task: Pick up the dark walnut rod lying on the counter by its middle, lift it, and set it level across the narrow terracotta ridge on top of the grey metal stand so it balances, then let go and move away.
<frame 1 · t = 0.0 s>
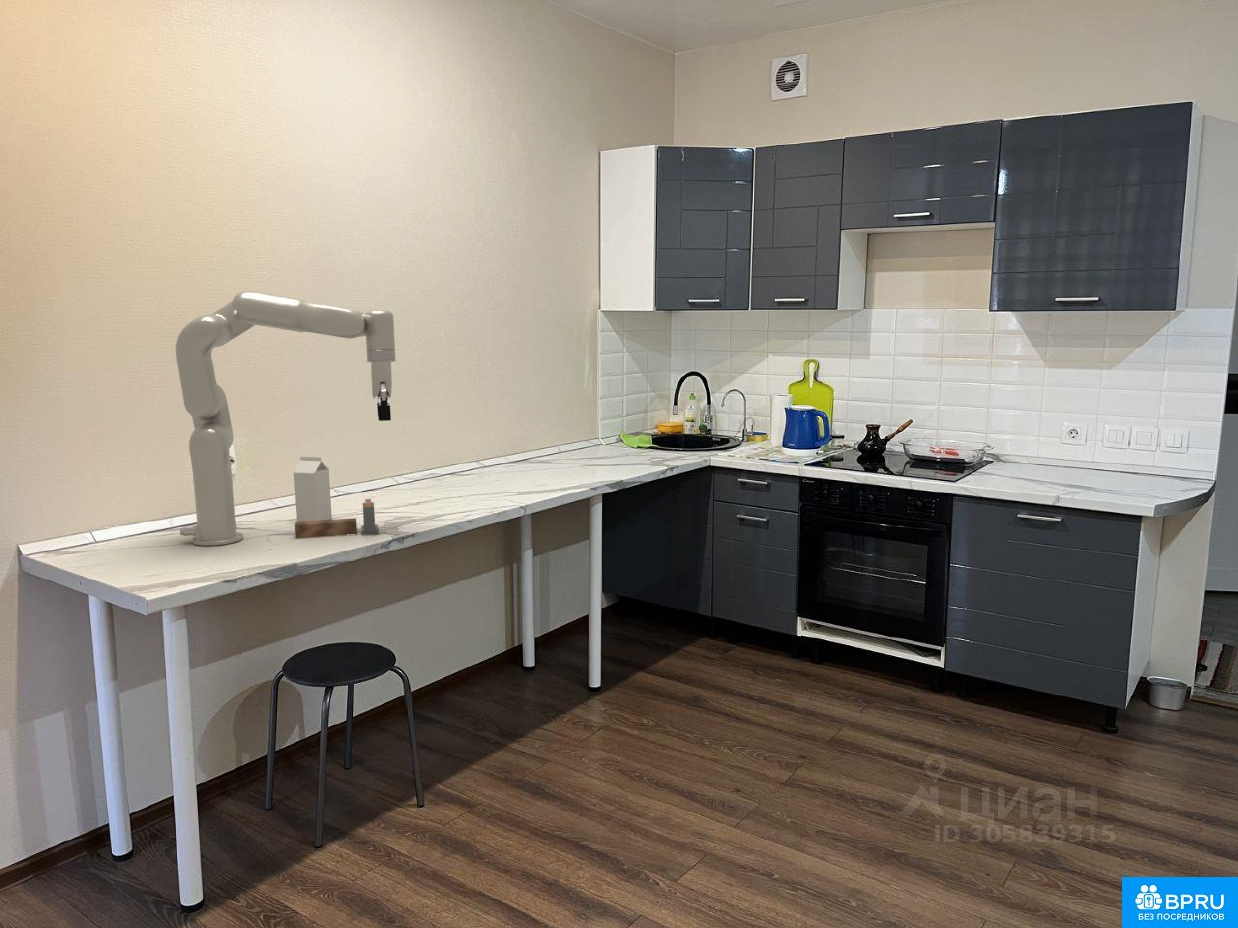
hand: (384, 418, 261), 31 cm above the table, tool pointing down, fingers open, 9 cm apart
ridge stand: (369, 531, 263), on the table
walnut rod: (326, 535, 260), on the table
milk carton: (314, 521, 278), on the table
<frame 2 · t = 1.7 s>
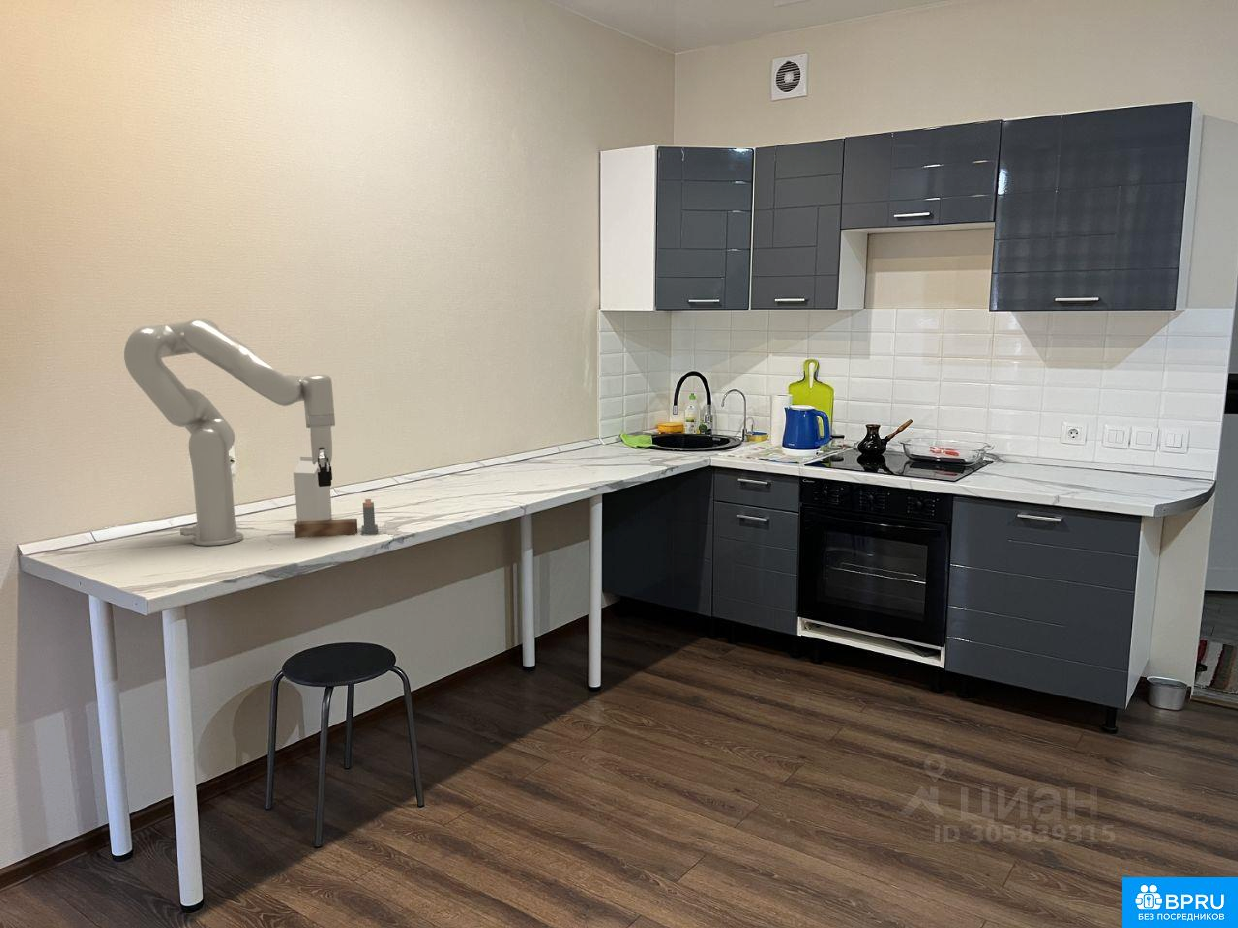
hand: (325, 483, 258), 14 cm above the table, tool pointing down, fingers open, 9 cm apart
nothing on the table moved.
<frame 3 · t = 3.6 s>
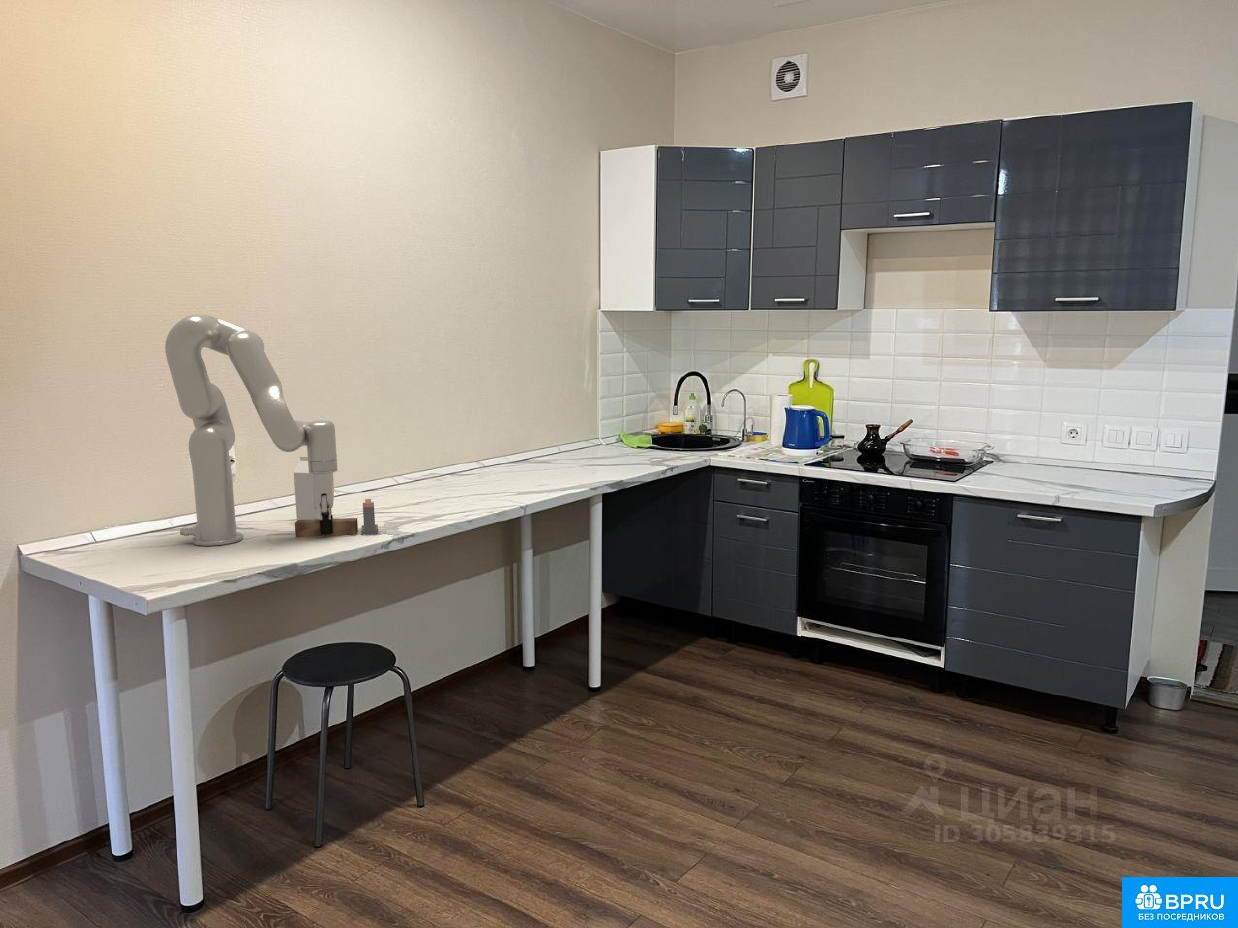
hand: (327, 531, 260), 1 cm above the table, tool pointing down, fingers closed on walnut rod, 4 cm apart
walnut rod: (327, 534, 260), on the table, touching gripper
everything else where it was.
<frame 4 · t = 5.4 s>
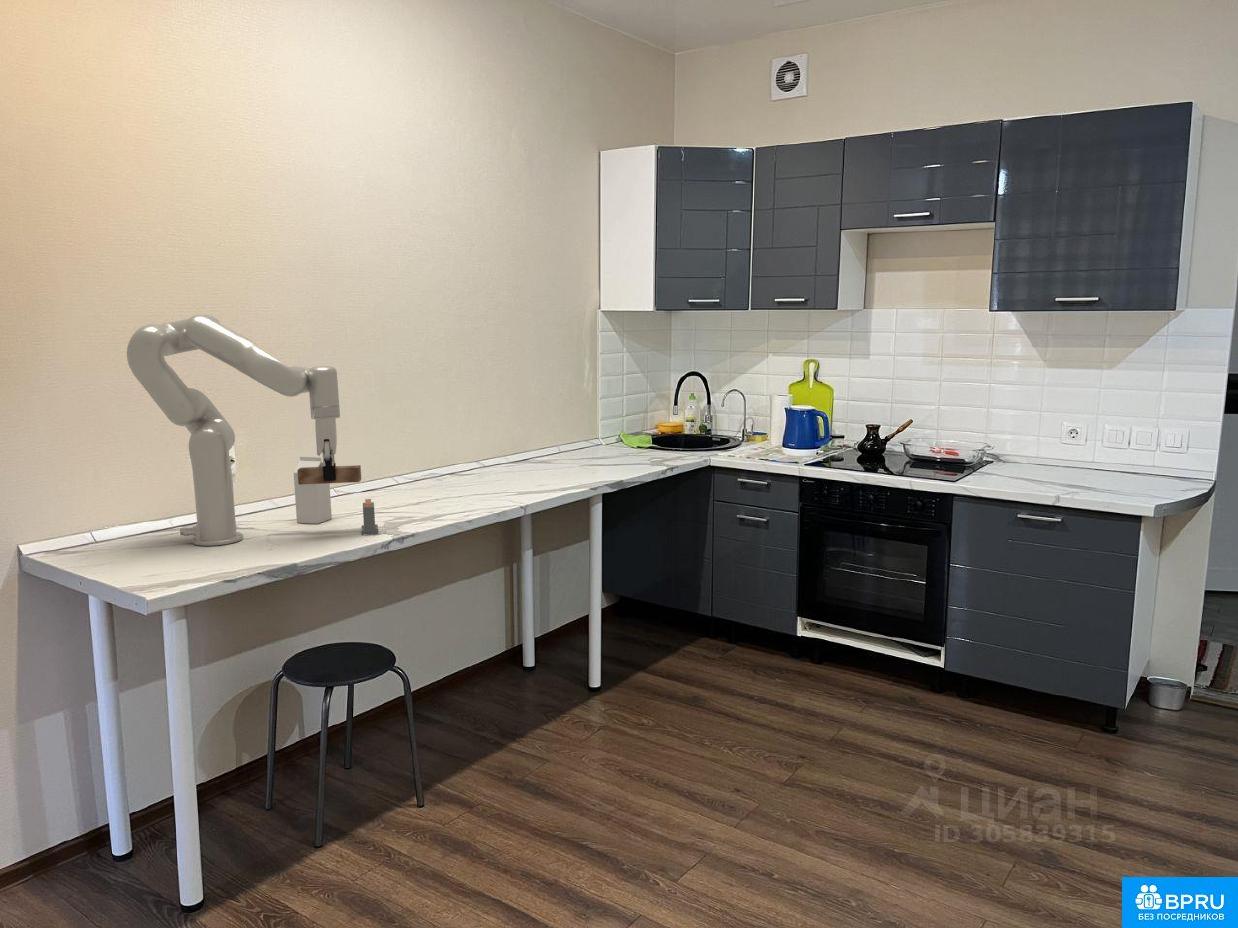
hand: (330, 478, 258), 16 cm above the table, tool pointing down, fingers closed on walnut rod, 4 cm apart
walnut rod: (330, 482, 258), point 15 cm above the table, touching gripper
everything else where it was.
when the fingers open (10 cm above the table, at t = 7.4 s): walnut rod stays where it is, resting on ridge stand.
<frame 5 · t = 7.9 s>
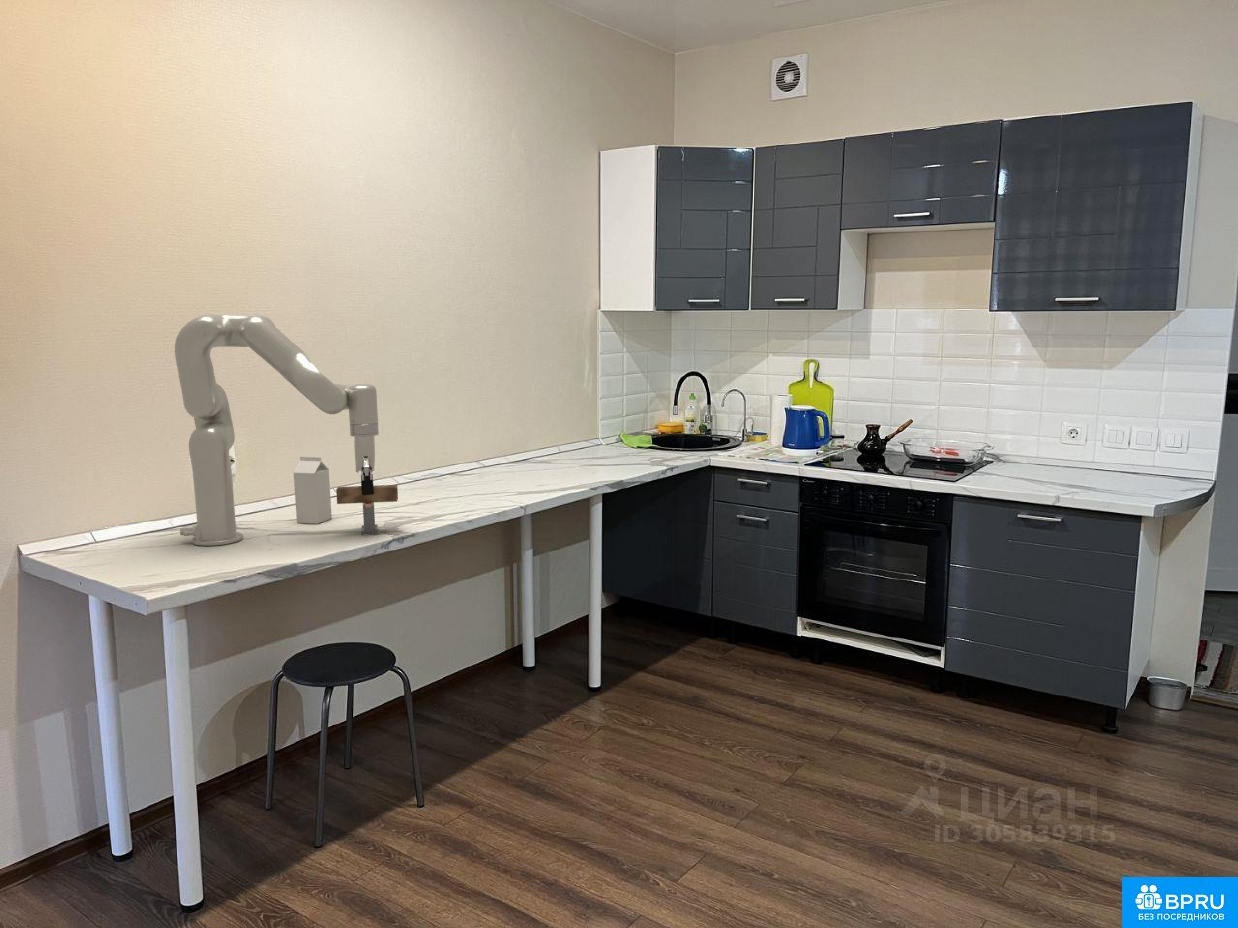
hand: (367, 491, 261), 11 cm above the table, tool pointing down, fingers open, 9 cm apart
walnut rod: (367, 501, 262), point 9 cm above the table, touching ridge stand
everything else where it was.
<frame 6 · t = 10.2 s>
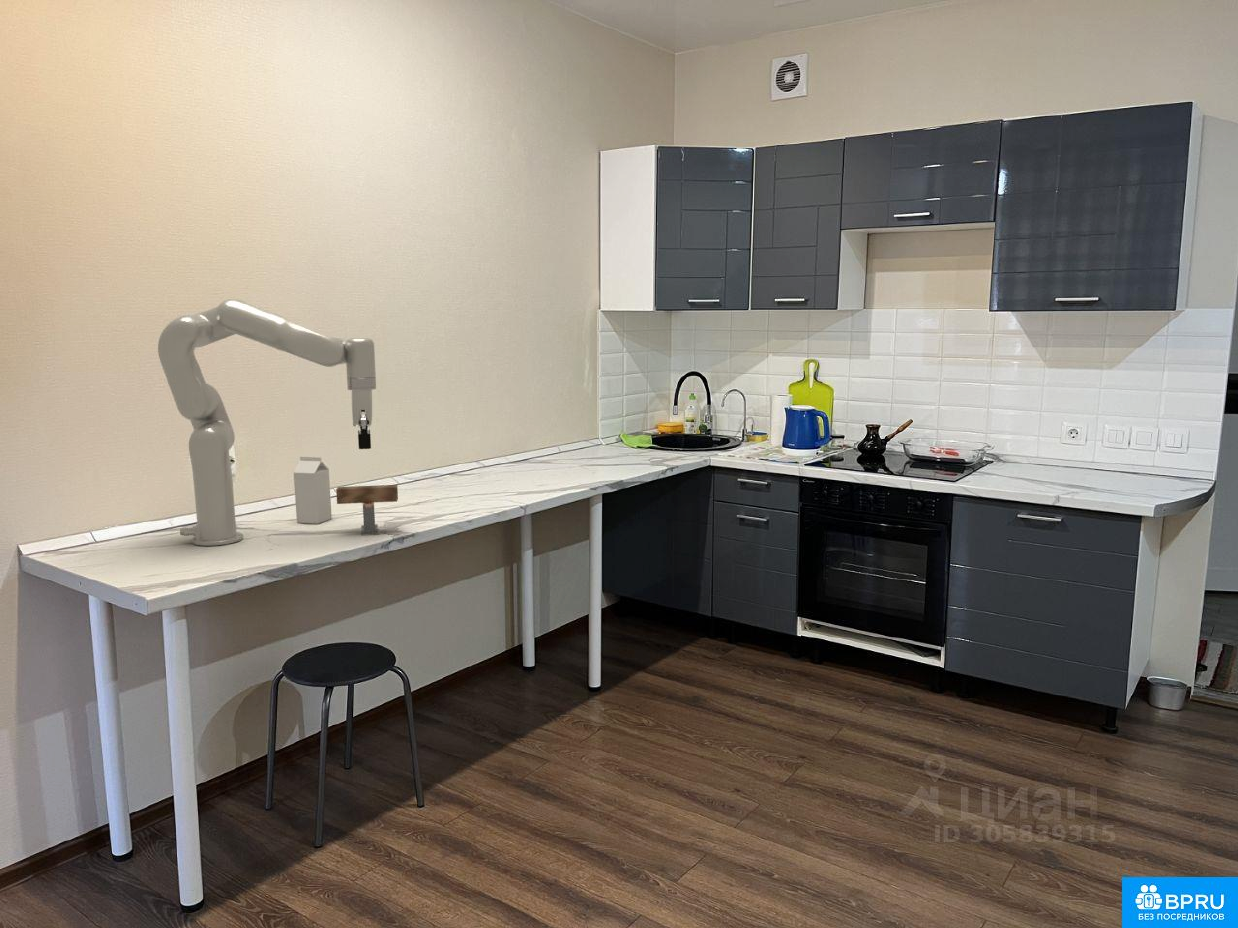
hand: (364, 446, 259), 24 cm above the table, tool pointing down, fingers open, 9 cm apart
nothing on the table moved.
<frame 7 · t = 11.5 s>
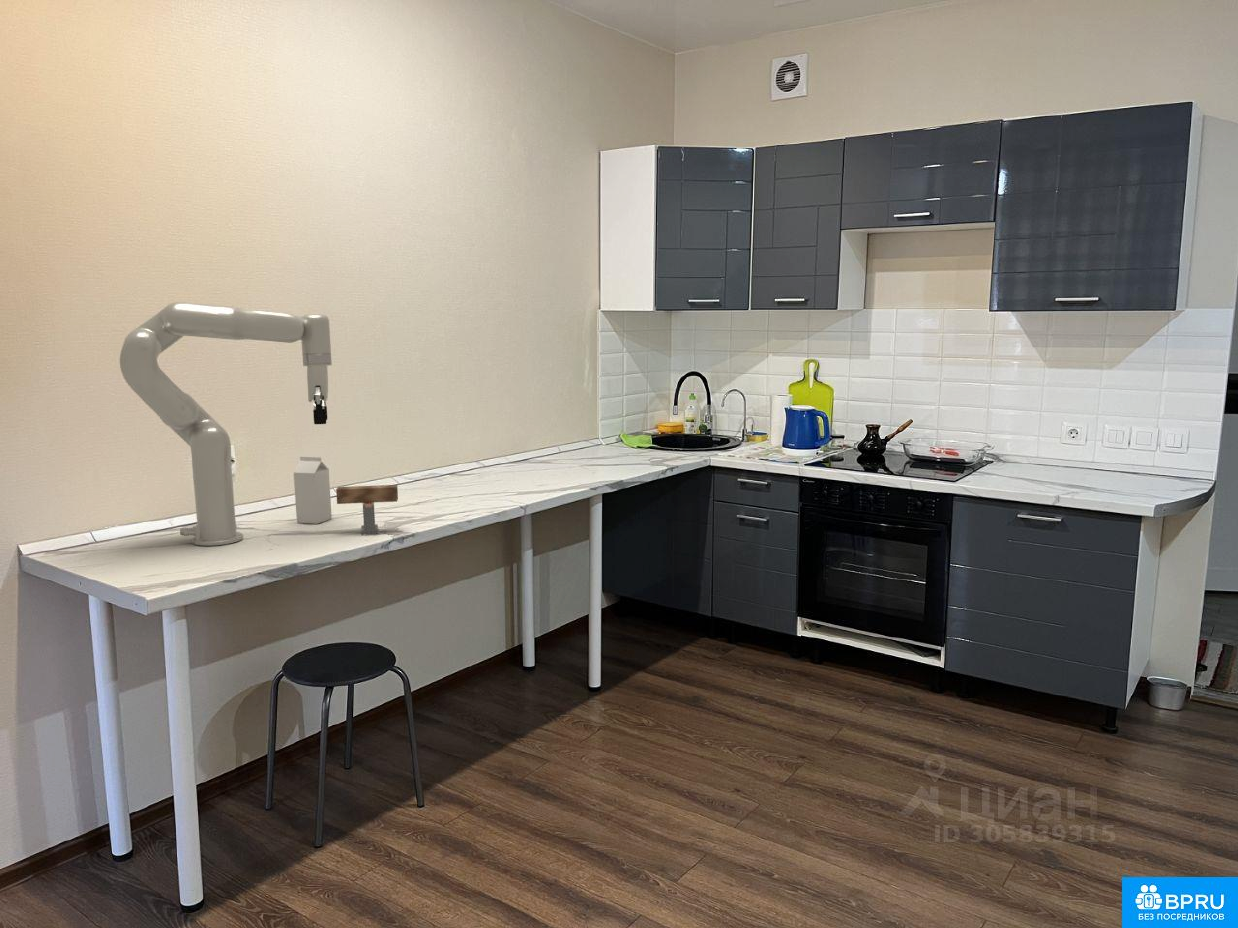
hand: (320, 422, 263), 30 cm above the table, tool pointing down, fingers open, 9 cm apart
nothing on the table moved.
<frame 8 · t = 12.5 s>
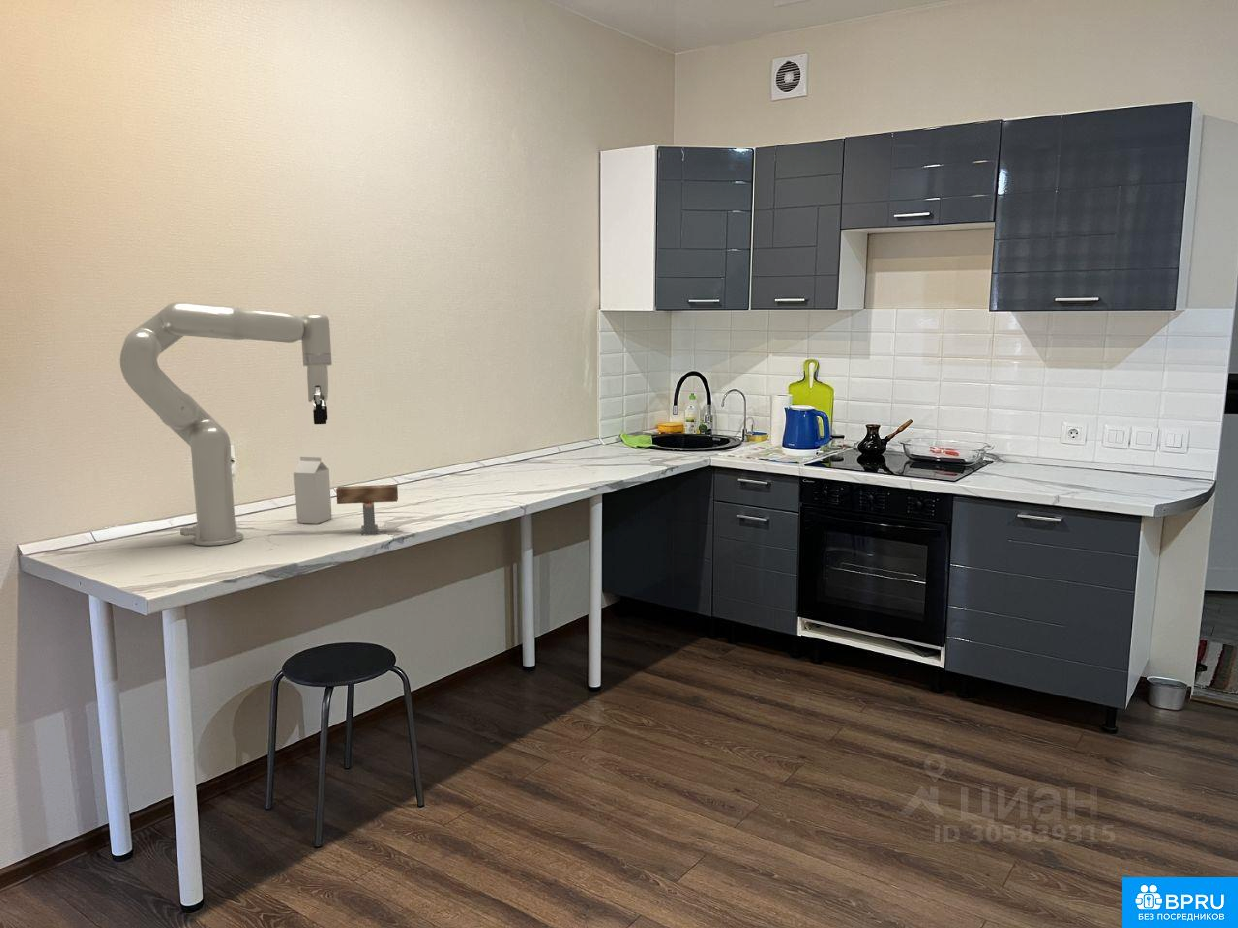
hand: (320, 422, 263), 30 cm above the table, tool pointing down, fingers open, 9 cm apart
nothing on the table moved.
at the end: walnut rod 0.1 cm off-centre on the ridge stand, point 8.6 cm above the ridge stand's base; walnut rod tilted 0°; the gripper is holding nothing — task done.
